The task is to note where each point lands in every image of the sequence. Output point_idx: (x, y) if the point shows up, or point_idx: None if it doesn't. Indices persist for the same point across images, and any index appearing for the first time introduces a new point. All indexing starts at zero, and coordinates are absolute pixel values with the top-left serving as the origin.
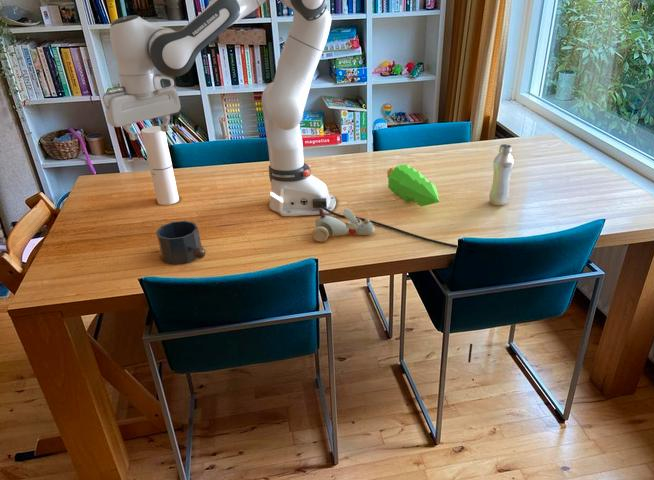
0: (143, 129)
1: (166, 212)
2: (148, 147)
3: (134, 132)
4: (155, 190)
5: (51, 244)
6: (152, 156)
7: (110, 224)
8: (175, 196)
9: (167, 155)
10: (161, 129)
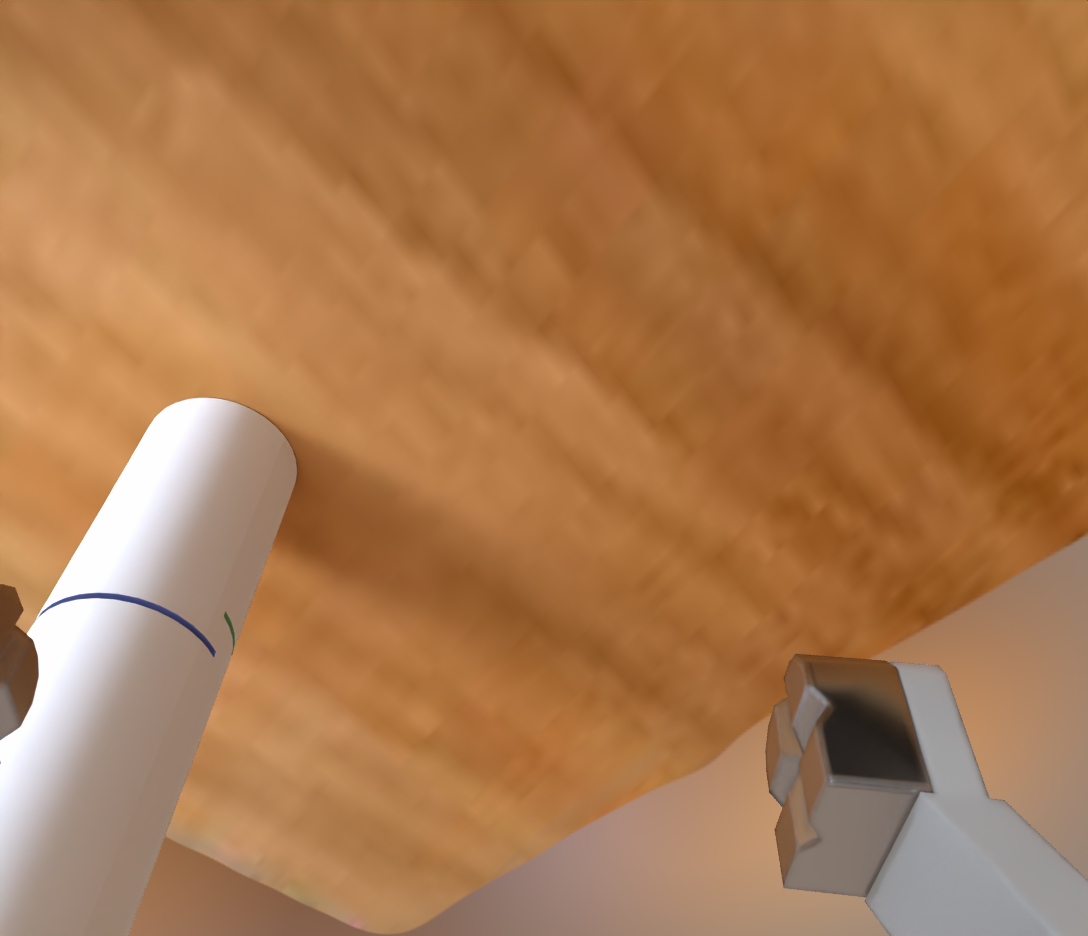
0: None
1: (334, 328)
2: (143, 829)
3: (821, 847)
4: (271, 542)
5: (1058, 528)
6: (161, 738)
7: (689, 474)
8: (174, 426)
9: None
10: (17, 692)
